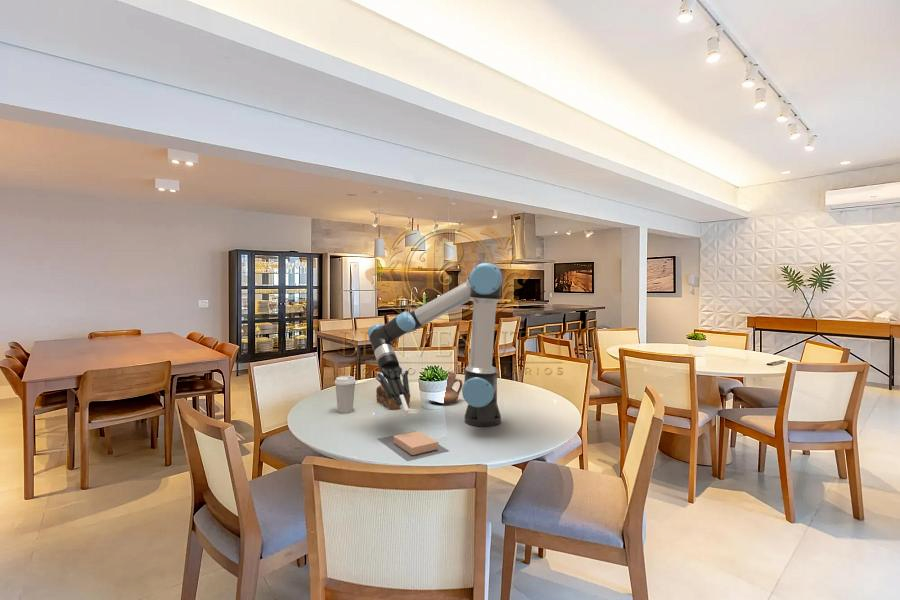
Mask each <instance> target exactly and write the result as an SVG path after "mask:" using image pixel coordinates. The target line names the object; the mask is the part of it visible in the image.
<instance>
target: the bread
mask: <svg viewBox="0 0 900 600" xmlns="http://www.w3.org/2000/svg"><path fill="white" fill-rule="evenodd" d="M388 384H389V383H388ZM395 384H396V383H395ZM389 386H390V385H389ZM397 389H398V388H397ZM375 390H376V395H375V396H376V400H377V401H376V402H377V403H379V404H380V405H382V406H383V407H385V408H387V409H388V408H389V409H390V410H399V409H400V410H401V408H400V406H398V405H397V403H396V400H394V398H393V397H392V398H390V397H389V396H388V394H387V393H386V391H385V390H384V388H383V386H382V385H381V384H379V385H378V386H377V387H376V389H375ZM398 392H399V391H398ZM399 395H400V394H399ZM406 397H407V400H408V403H407V406H408V408H409V407H410V403H411V393H410V389H409V393H408V395H407V396H406ZM389 409H388V410H389Z"/></svg>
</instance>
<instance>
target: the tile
mask: <svg viewBox="0 0 900 600" xmlns="http://www.w3.org/2000/svg"><path fill="white" fill-rule="evenodd" d="M415 431H416V430H415ZM410 432H411V433H409V432H405V433H406V434H404V433H400V434H401V435H399V434H395V435H396V436H394V435H392V436H393V443H395V444H396V445H398V446H399V447H401V448H402V449H404V450H405V451H407V452H408V453H410V454H411V455H415V454H419V453H424V452H428V451H432V450H437V449H438V444H439V441H438V440H435V439H433V438H432V437H430V436H428V435H427V434H424V433H423V432H421V431H419V430H417V431H416V432H414V431H410Z"/></svg>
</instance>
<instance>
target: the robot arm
mask: <svg viewBox="0 0 900 600" xmlns="http://www.w3.org/2000/svg"><path fill="white" fill-rule="evenodd" d="M469 274H470V275H469V277H468V278H466V281H465V282H463V283H462V284H460V285H458V286H455V287H454V288H452V289H451V290H449V291H446V292H444V293H443V294H441V295H439V296H438V297H436V298H434V299H432V300H430V301H429V302H426V303H425V304H423V305H420V306H419V307H417V308H416V309H414V310H412V311H410V312H408V311H403V312H401V313H400V314H397V315H396V316H395V317H393V318H392V319H391V320H389V321H388V322H386V323H385V324H383V323H376V324H373V325H371V326H369V328H368V329H367V335H368V339H369V342H370V345H371V348H372V351H373V353H374V357H375V359H376V362H377V365H378V368H379V371H380V372H379V373H377V375H376V377H375V380H376V381H377V382H378V383H380V385H382V386H383V388H384V390H385V391H386V393H387V394H388V396H389V397H390V398H392V397H393V398H394V400H396V403H397V405H398V406H400V408H401V409H400V410H401V412H402V413H401V414H402V415H403V416H404V415H407V414H408V413H409V411H410V409H409V407H408V406H407V403H408V400H407V397H406V396H407V395H408V393H409V390H410V385H409V384H410V383H409V375H408V374H409V370H408V369H407V370H403V369H402V367H401V366H400V364H399V363H400V362H399V360H398V358H397V355H396V352H395V349H394V347H393V345H392V344H393V342H395V341H396V340H398V339H399V338H401V337H403V336H404V335H406V334H409V333H414V332H415V331H417V330H418V329H419V328H421V327H423V326H425V325H427V324H428V323H430V322H432V321H434V320H436V319H438V318H440V317H441V316H444V315H445V314H447V313H449V312H451V311H453V310H455V309H457V308H458V307H460V306H462V305H465V304H466V303H468V302H469V301H472V303H473V306H472V307H473V308H472V321H471V322H472V323H471V324H472V325H471V337H470V353H469V365H467V366H466V367H465V368H464V369H465V370H464V383H463V386H462V389H461V394H462V398H463V400H464V401H465V402H466V404H467V407H466V411H465V414H464V422H465V424H467V425H470V426H475V427H482V428H483V427H484V428H485V427H495V426H498V425H500V424H501V422H502V414H501V412H500V409H499V406H498V369H497V367H496V366H493V358H494V357H493V356H494V343H495V341H494V340H495V329H496V328H495V327H496V313H497V311H496V310H497V304H498V303H499V302H500V301H501V296H502V285H503V284H504V275H503V272H502V270H501V269H500V267H498V266H497V265H495V264H493V263H491V262H490V263H489V262H481V263H480V264H477V265H476V266H474V267H473V269H471V271H470V273H469ZM401 378H402V379H401ZM388 383H389V384H388ZM395 383H396V384H395ZM389 385H390V386H389ZM397 388H398V389H397ZM398 391H399V392H398ZM399 394H400V395H399Z"/></svg>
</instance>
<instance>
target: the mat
mask: <svg viewBox="0 0 900 600" xmlns="http://www.w3.org/2000/svg"><path fill="white" fill-rule="evenodd" d="M411 432H412V431H410V432H408V433H411ZM413 432H416V430H415V431H413ZM406 433H407V432H404V433H403V434H406ZM401 434H402V433H400V434H399V433H398V435H401ZM396 435H397V434H395V435H390V436H385V437H384V436H383V437H379V438H377V440H378V441H379V442H380V443H382V444H383V445H385V446H386V447H387V448H388V449H390V450H391V451H392V452H394V453H395V454H397V455H398V456H400V457H401V458H402V459H403V460H405V461H406V462H410V461H411V462H412V461H414V460H419V459H423V458H427V457H430V456H435V455H439V454H440V455H441V454H444V453H447V452H450V450H449V449H447V448H446V447H444V446H442V445H440V444H439V443H438V449H437V450H432V451H428V452H424V453H419V454H415V455H411V454H410V453H408V452H407V451H405V450H404V449H402V448H401V447H399V446H398V445H396V444H395V443H393V436H396Z"/></svg>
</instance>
